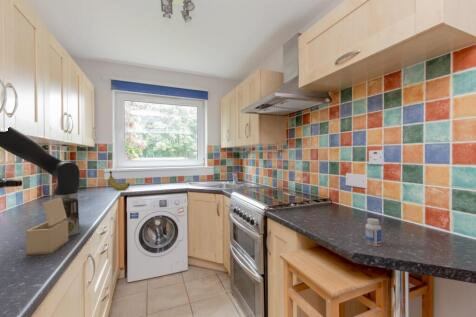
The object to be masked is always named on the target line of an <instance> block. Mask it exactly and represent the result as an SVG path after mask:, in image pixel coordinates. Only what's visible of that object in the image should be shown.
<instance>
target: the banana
mask: <svg viewBox="0 0 476 317" xmlns="http://www.w3.org/2000/svg"><path fill="white" fill-rule="evenodd" d="M108 173H109V174H110V176H109V177H108V180H107V181H108V185H109V186H110V187H111V188H112V189H114V190H116V191H124V190H127V189H129V187H130V182H129V183H128V182H127V183H123V184H121V183H118V181H117V180H116V179H115V178H114V177H113V172H112V171H111V170H109V172H108Z"/></svg>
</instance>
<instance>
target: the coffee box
mask: <svg viewBox="0 0 476 317" xmlns="http://www.w3.org/2000/svg"><path fill="white" fill-rule="evenodd" d="M62 202H63V205H64V209H65V213H66V216H67V218H66V219H64V220H62V221H68V237H70V236H74V235H78V234H80V213H79V211H80V210H79V198H78V199H76V198H70V199H63V200H62Z"/></svg>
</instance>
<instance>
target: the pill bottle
mask: <svg viewBox="0 0 476 317" xmlns="http://www.w3.org/2000/svg"><path fill="white" fill-rule="evenodd" d="M364 229H365V243H366V244H367V245H369V246H372V247H380V246H382V243H383V242H382V226H381V225H380V220H379V219H378V218H373V217H368V218H367V220H366V224H365V228H364Z"/></svg>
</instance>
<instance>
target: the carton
mask: <svg viewBox="0 0 476 317" xmlns="http://www.w3.org/2000/svg"><path fill="white" fill-rule="evenodd" d="M69 242H70V241H69V236H68V221H60V222H58V223H55V224H53V225H51V226H49V225H48V222H47V221H44V222H43V223H41V224H38V225H37V226H34V227H32V228H29V229H27V230H25V246H26V248H25V249H26V250H25V252H26V256H33V255H34V256H35V255H36V256H37V255H47V254H53V253H54V252H55V251H57V250H58V249H60V248H61V247H63V246H64V245H65V244H67V243H69Z"/></svg>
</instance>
